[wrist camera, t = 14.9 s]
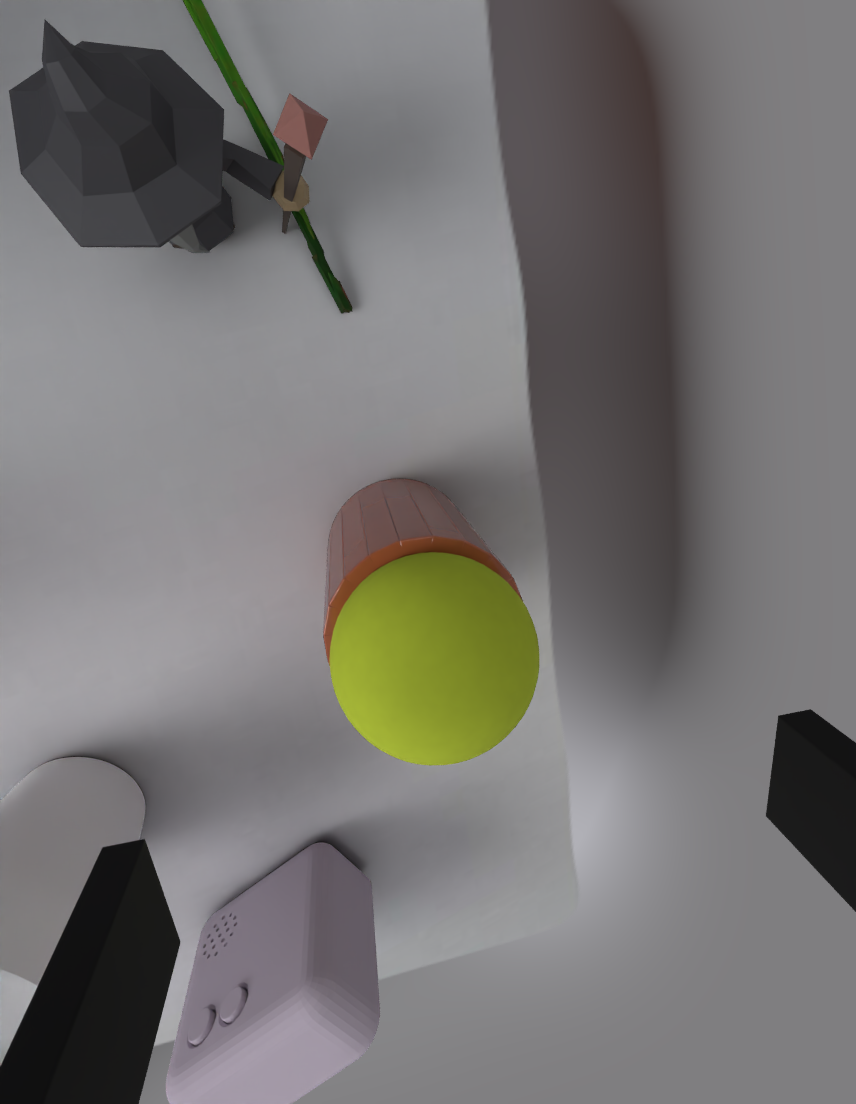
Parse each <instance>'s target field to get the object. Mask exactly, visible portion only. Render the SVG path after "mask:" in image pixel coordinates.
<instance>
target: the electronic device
mask: <svg viewBox="0 0 856 1104" xmlns="http://www.w3.org/2000/svg"><path fill="white" fill-rule="evenodd" d="M379 1017H380V1004H379V989H378V974H377V959H376V943H375V928H374V913H373V898H372V885H371V881H370V879H369V878H368V877H367V876H366V875H365V874H363V873H362V872H361V871H360V870H359V869H358V868H357V867H356V866H354V865H353V864H352V863H351V862H350V861H349V860H348V859H347V858H345V857H344V856H343V855H342V854H341V853H340V852H339V851H338V850H336V849H335V848H334V847H333V846H332V845H330V844H327V843H323V842H321V843H315V844H312V845H310V846H309V847H307V848H306V849H304V850H303V851H301V852H300V853H299V854H297V855H296V856H294V857H293V858H292V859H290V860H289V861H287V862H286V863H285V864H283V865H282V866H280V867H279V868H277V869H276V870H275V871H273V872H272V873H270V874H269V875H268V876H266V877H265V878H263V879H262V880H261V881H259V882H258V883H256V884H255V885H254V886H252V887H251V888H249V889H248V890H246V891H245V892H244V893H242V894H241V895H239V896H238V897H237V898H235V899H234V900H232V901H231V902H230V903H228V904H227V905H225V906H224V907H223V908H221V909H220V910H218V911H217V912H216V913H214V914H213V915H212V916H211V917H210V918H209V919H208V921H207V922H206V924H205V925H204V927H203V929H202V931H201V935H200V939H199V943H198V947H197V951H196V956H195V960H194V964H193V968H192V972H191V977H190V981H189V985H188V989H187V994H186V998H185V1002H184V1006H183V1010H182V1015H181V1019H180V1023H179V1027H178V1032H177V1036H176V1040H175V1045H174V1049H173V1053H172V1057H171V1061H170V1065H169V1070H168V1074H167V1079H166V1095H167V1099H168V1101H169V1103H170V1104H292V1103H293V1102H295V1101H296V1100H298V1099H299V1098H301V1097H302V1096H304V1095H305V1094H307V1093H308V1092H310V1091H311V1090H313V1089H314V1088H315V1087H317V1086H319V1085H320V1084H322V1083H323V1082H325V1081H326V1080H327V1079H329V1078H330V1077H332V1076H334V1075H335V1074H336V1073H338V1072H340V1071H341V1070H343V1069H344V1068H346V1067H347V1066H348V1065H350V1064H351V1063H353V1062H354V1061H356V1060H357V1059H358V1058H360V1057H361V1056H362V1055H363V1054H364V1053H365V1051H366V1050H367V1049H368V1047H369V1046H370V1044H371V1042H372V1041H373V1038H374V1036H375V1034H376V1031H377V1027H378V1024H379Z"/></svg>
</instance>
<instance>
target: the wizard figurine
mask: <svg viewBox="0 0 856 1104" xmlns="http://www.w3.org/2000/svg"><path fill="white" fill-rule="evenodd" d="M42 62H43V68H42V69H40V70H39V71H37V72H36V73H35V74H33V75H32V76H30V77H29V78H27V79H26V80H24V81H23V82H21V83H20V84H18V85H17V86H15V87H14V88H13V89H11V90H10V91H9V94H10V101H11V108H12V115H13V122H14V129H15V136H16V143H17V150H18V157H19V164H20V171H21V174H22V175H23V177H24V178H25V179H26V180H27V182H28V183H29V184H30V185H31V186H32V188H33V189H34V190H35V191H36V193H37V194H38V195H39V196H40V198H41V199H42V200H43V201H44V202H45V204H46V205H47V206H48V207H49V209H50V210H51V211H52V212H53V213H54V215H55V216H56V217H57V218H58V220H59V221H60V222H61V223H62V225H63V226H64V227H65V228H66V229H67V231H68V232H69V233H70V234H71V236H72V237H73V238H74V239H75V241H76V242H77V243H78V244H79V245H80V246H81V247H161V246H163V245H164V244H165V243H167V242H168V241H170V243H171V244H172V246H173V247H174V248H182V249H186V250H188V251H190V252H192V253H208V252H209V251H210V250H211V249H212V248H214V247H215V246H216V245H218V244H219V243H220V242H222V241H223V240H224V239H225V238H227V237H228V236H229V235H231V234H232V233H233V232H234V231H233V230H234V229H235V228H236V227H235V225H234V223H233V217H232V202H231V197H230V195H229V194H228V193H227V191H226V190H225V189H224V187H223V186H222V171H225V172H227V173H228V174H230V175H231V176H233V177H235V178H236V179H238V180H239V181H241V182H242V183H244V184H245V185H247V186H248V187H250V188H251V189H253V190H254V191H256V192H257V193H259V194H260V195H262V196H263V197H265V198H266V199H268V200H269V201H271V198H272V195H273V197H274V199H275V200H276V201H277V202H278V204H279V205H280V206H281V208H282V209H283V223H282V232H283V233H286V231H287V227H288V222H289V218H290V214H291V211H299V210H301V209H302V208H303V207H304V206H305V205H307V204H308V203H309V186H308V184H307V183H306V181H305V180H304V179H303V177H302V176H301V173H302V169H303V166H304V162H305V159H306V156H307V157H308V158H310V159H311V160H312V157H313V155H314V153H315V150H316V148H317V145H318V143H319V140H320V138H321V136H322V133H323V131H324V128H325V126H326V123H327V121H328V119H327V118H325V117H324V116H322V115H321V114H319V113H318V112H316V111H315V110H313V109H312V108H310V107H309V106H308V105H306V104H305V103H303V102H302V101H300V100H299V99H297V98H296V97H294V96H293V95H291V94H290V93H289V96H288V98H287V101H286V103H285V106H284V108H283V111H282V113H281V116H280V118H279V121H278V123H277V126H276V128H275V131H274V133H273V135H274V136H276V137H277V138H279V139H280V140H282V141H283V142H285V146H284V166H283V165H281V164H278V163H276V162H274V161H272V160H269V159H267V158H265V157H262V156H260V155H258V154H256V153H253V152H251V151H249V150H247V149H244V148H242V147H240V146H237V145H235V144H233V143H231V142H228V141H226V140H223V127H224V109H223V108H222V107H221V106H220V105H219V104H218V103H217V102H216V101H215V100H214V99H213V98H212V97H210V96H209V95H208V94H207V93H206V92H205V91H204V90H203V89H202V88H201V87H200V86H199V85H198V84H197V83H196V82H195V81H194V80H193V79H192V78H191V77H190V76H189V75H188V74H187V73H186V72H185V71H184V70H183V69H182V68H181V67H180V66H179V65H177V64H176V63H175V62H174V61H173V60H172V59H171V58H170V57H169V56H168V55H167V54H166V53H165V52H164V51H163V50H156V49H147V48H138V47H129V46H120V45H111V44H102V43H93V42H84V41H81V42H80V43H79V44H77V45H76V46H74V45H72V44H70V43H69V42H68V41H67V40H66V39H65V38H64V37H63V36H62V35H61V34H60V33H59V32H58V31H57V30H56V29H55V28H54V27H52V26H51V25H50V24H49V23H48V22H47V21H46V20H45V22H44V37H43V51H42ZM283 167H284V171H282V170H283Z"/></svg>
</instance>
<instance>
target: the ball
mask: <svg viewBox="0 0 856 1104" xmlns="http://www.w3.org/2000/svg"><path fill="white" fill-rule="evenodd" d="M330 671H331V678H332V683H333V687H334V691H335V694H336V696H337V699H338V701H339V704H340V706H341V708H342V710H343V711H344V713H345V715H346V716H347V718H348V720H349V721H350V722H351V724H352V725H353V726H354V727H355V729H356V730H357V731H358V732H359V733H360V734H361V735H362V736H363V737H364V738H365V739H366V740H367V741H368V742H370V743H371V744H372V745H374V746H375V747H377V748H378V749H379V750H381V751H383V752H385V753H387V754H389V755H391V756H393V757H395V758H398V759H401V760H403V761H406V762H410V763H415V764H421V765H447V764H455V763H459V762H463V761H467V760H469V759H472V758H474V757H477V756H479V755H481V754H483V753H485V752H487V751H488V750H490V749H491V748H493V747H494V746H496V745H497V744H498V743H500V742H501V741H502V740H503V739H504V738H505V737H506V736H507V735H508V734H509V733H510V732H511V731H512V730H513V729H514V728H515V727H516V725H517V724H518V723H519V721H520V720H521V719H522V717H523V716H524V714H525V712H526V710H527V708H528V707H529V704H530V702H531V699H532V697H533V694H534V691H535V687H536V683H537V679H538V673H539V646H538V639H537V634H536V631H535V627H534V624H533V621H532V619H531V616H530V614H529V612H528V610H527V608H526V606H525V604H524V603H523V601H522V600H521V598H520V597H519V595H518V594H517V593H516V592H515V590H514V589H513V588H512V587H511V586H510V584H509V583H508V582H507V581H505V580H504V579H503V578H502V577H501V576H500V575H499V574H497V573H496V572H494V571H492V570H491V569H489V568H488V567H486V566H485V565H483V564H481V563H479V562H477V561H475V560H473V559H470V558H466V557H463V556H460V555H454V554H449V553H439V552H428V553H418V554H413V555H409V556H405V557H402V558H399V559H396V560H394V561H392V562H390V563H388V564H386V565H384V566H382V567H380V568H379V569H377V570H376V571H374V572H373V573H371V574H370V575H369V576H368V577H367V578H366V579H364V580H363V581H362V582H361V583H360V584H359V585H358V587H357V588H356V589H355V590H354V591H353V592H352V594H351V595H350V597H349V598H348V600H347V601H346V603H345V604H344V606H343V608H342V610H341V612H340V614H339V616H338V618H337V621H336V624H335V627H334V630H333V635H332V640H331V646H330Z"/></svg>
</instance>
